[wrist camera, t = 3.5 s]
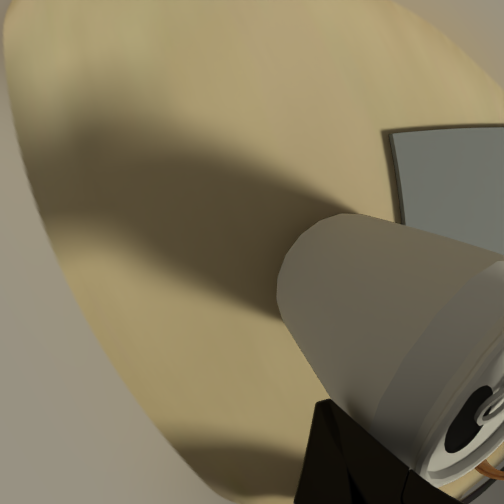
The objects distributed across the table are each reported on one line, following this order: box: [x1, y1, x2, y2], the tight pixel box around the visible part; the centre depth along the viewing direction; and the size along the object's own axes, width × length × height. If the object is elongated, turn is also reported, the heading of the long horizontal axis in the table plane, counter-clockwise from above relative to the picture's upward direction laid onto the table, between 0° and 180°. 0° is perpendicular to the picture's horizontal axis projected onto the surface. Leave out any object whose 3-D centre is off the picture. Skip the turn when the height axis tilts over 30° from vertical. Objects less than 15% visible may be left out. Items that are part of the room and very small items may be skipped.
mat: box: [389, 127, 504, 255], centre depth 16 cm, size 15×16×1 cm
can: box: [276, 213, 504, 488], centre depth 11 cm, size 8×8×12 cm
